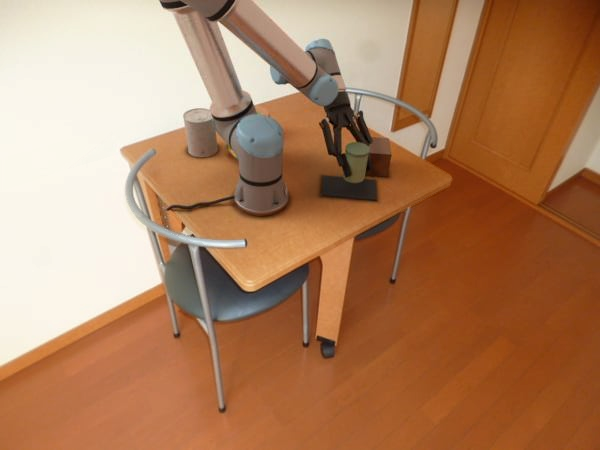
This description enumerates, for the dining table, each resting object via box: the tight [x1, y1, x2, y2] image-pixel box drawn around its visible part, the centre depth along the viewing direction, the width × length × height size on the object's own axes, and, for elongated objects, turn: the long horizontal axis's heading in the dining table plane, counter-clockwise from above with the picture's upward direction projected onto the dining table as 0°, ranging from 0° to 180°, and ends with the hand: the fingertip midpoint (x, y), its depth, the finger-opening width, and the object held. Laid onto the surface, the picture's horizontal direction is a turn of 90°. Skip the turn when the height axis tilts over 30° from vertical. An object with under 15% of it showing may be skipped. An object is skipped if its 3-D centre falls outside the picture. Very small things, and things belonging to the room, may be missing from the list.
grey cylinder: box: [182, 107, 219, 158], centre depth 134 cm, size 10×10×12 cm
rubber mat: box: [321, 175, 378, 202], centre depth 125 cm, size 16×10×1 cm, turn 86°
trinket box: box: [254, 105, 271, 117], centre depth 145 cm, size 11×11×9 cm
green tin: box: [342, 141, 370, 183], centre depth 118 cm, size 7×7×10 cm
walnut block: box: [365, 136, 393, 177], centre depth 132 cm, size 10×10×8 cm
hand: (359, 173), depth 118 cm, fingers closed on green tin, 6 cm apart
